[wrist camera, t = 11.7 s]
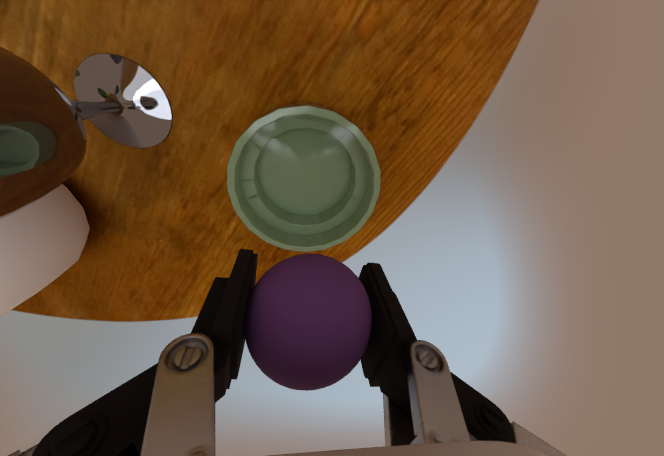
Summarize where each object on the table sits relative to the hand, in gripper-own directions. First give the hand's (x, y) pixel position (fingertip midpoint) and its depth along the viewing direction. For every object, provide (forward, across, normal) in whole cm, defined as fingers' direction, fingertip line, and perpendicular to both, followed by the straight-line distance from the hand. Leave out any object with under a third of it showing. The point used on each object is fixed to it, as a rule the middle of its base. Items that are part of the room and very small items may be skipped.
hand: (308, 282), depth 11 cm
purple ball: (+1, 0, 0) cm, 1 cm away
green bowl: (+16, 0, 0) cm, 16 cm away
